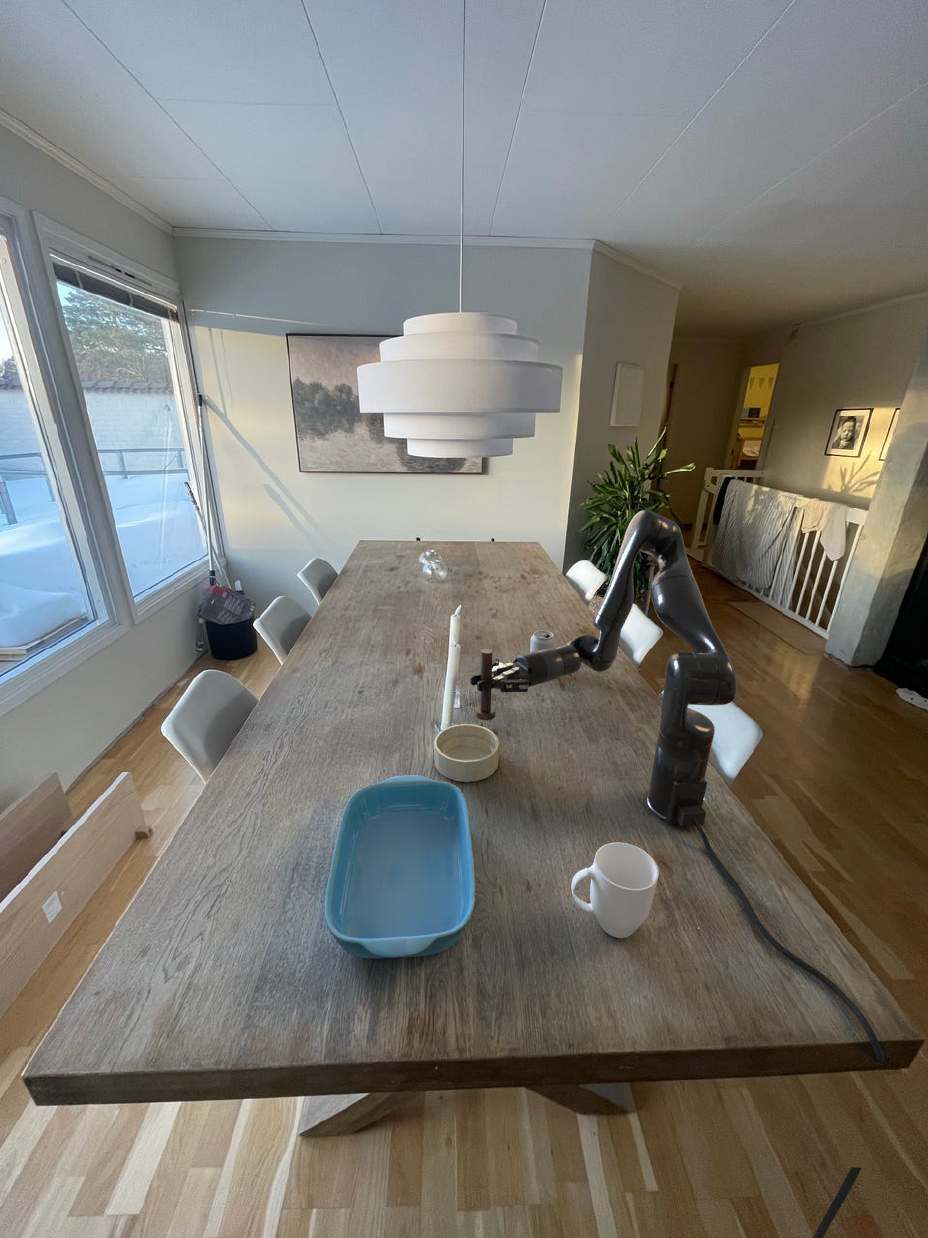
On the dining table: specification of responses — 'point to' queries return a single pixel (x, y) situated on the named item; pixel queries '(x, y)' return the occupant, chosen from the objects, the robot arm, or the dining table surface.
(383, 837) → the casserole dish
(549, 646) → the can
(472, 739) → the bowl
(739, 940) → the dining table surface
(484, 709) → the stirring stick
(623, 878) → the mug
